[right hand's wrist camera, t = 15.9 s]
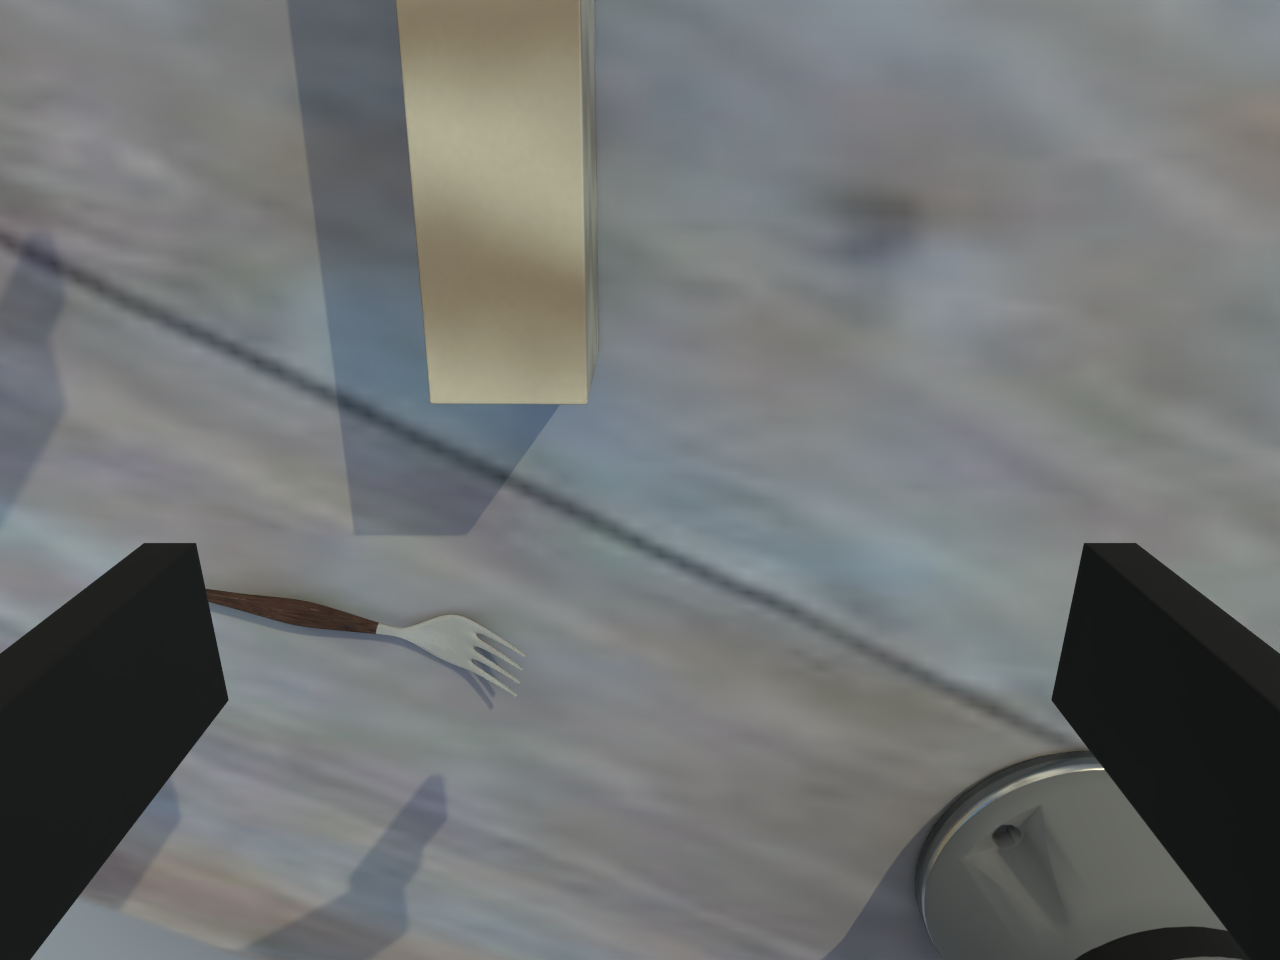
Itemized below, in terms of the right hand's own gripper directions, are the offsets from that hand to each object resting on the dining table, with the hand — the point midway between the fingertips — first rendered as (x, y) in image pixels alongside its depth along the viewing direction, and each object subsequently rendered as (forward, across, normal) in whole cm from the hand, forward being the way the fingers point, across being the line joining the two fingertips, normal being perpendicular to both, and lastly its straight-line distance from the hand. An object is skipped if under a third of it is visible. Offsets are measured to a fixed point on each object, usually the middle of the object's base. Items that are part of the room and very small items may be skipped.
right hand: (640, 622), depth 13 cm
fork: (+23, +13, +13) cm, 29 cm away
